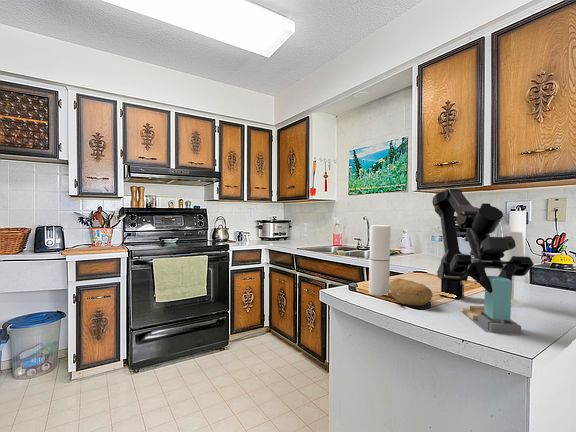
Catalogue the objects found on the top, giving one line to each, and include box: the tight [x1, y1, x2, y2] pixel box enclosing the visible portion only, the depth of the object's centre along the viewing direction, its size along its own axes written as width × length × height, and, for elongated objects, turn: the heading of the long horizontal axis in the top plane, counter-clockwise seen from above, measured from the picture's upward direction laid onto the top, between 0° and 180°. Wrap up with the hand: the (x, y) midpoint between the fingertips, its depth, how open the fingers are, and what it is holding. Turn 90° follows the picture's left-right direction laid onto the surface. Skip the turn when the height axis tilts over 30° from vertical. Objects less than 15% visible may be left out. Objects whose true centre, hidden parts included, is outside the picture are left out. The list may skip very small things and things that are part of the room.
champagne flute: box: [500, 231, 525, 308], centre depth 100 cm, size 7×7×24 cm
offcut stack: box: [461, 305, 501, 322], centre depth 85 cm, size 7×8×2 cm
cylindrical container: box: [368, 224, 391, 297], centre depth 111 cm, size 7×7×25 cm
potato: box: [389, 278, 434, 307], centre depth 98 cm, size 10×14×8 cm
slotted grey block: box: [460, 310, 527, 336], centre depth 81 cm, size 16×9×3 cm, turn 171°
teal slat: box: [483, 275, 512, 320], centre depth 78 cm, size 4×4×10 cm
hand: (500, 292), depth 76 cm, fingers closed on teal slat, 4 cm apart
